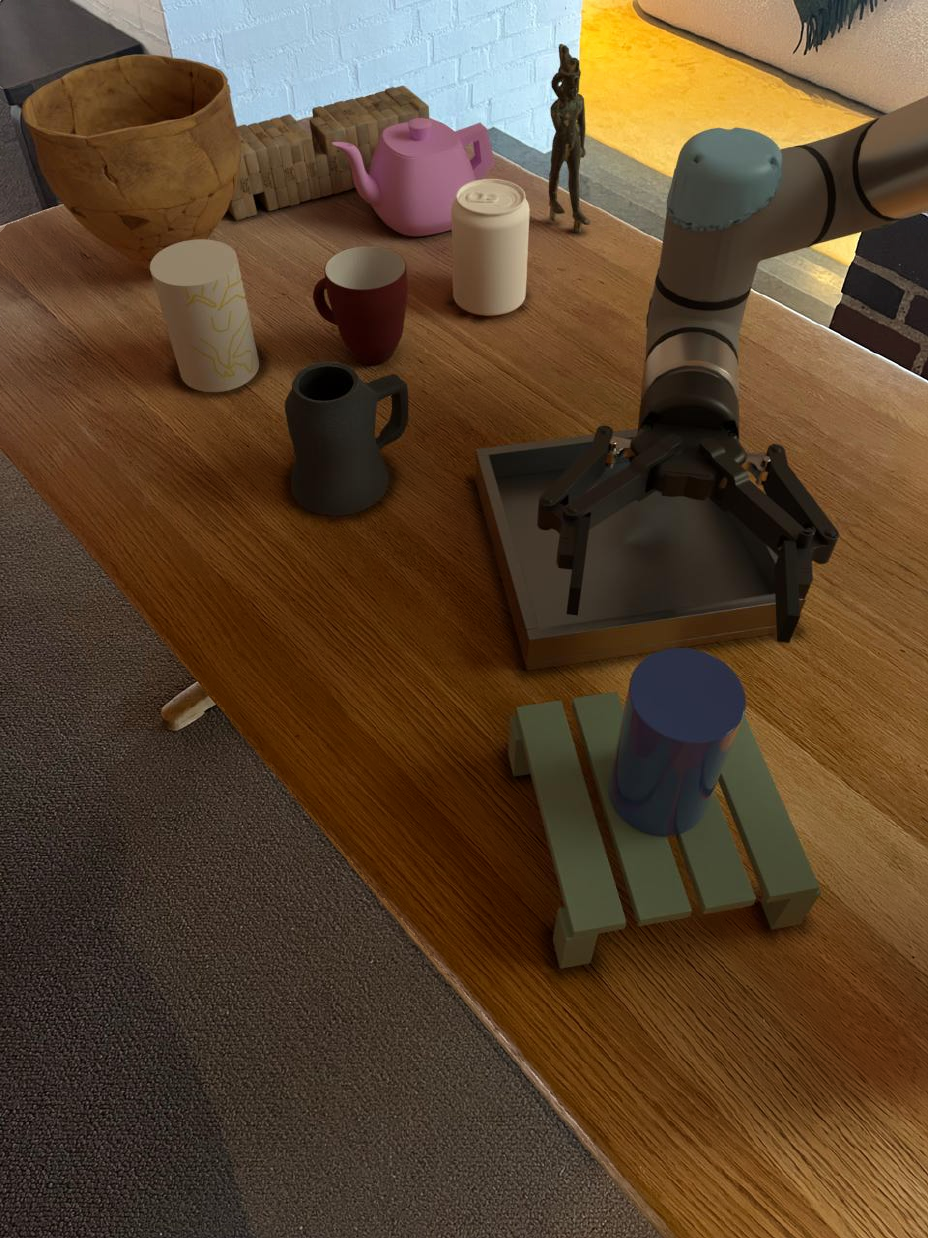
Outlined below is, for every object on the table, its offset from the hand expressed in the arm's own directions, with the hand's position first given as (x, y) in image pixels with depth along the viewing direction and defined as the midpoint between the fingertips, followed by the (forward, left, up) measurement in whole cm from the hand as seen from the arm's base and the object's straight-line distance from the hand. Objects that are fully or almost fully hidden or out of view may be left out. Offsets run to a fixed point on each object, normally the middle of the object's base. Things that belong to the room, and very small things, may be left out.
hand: (679, 615), depth 61 cm
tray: (+18, -3, -13) cm, 22 cm away
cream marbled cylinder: (+51, +31, -13) cm, 61 cm away
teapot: (+78, +6, -13) cm, 79 cm away
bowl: (+71, +36, -13) cm, 80 cm away
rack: (-8, +3, -13) cm, 16 cm away
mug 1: (+51, +16, -13) cm, 55 cm away
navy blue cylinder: (-8, +3, -7) cm, 11 cm away
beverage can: (+58, +1, -13) cm, 59 cm away
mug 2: (+32, +19, -13) cm, 39 cm away
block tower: (+88, +17, -13) cm, 91 cm away
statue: (+71, -11, -13) cm, 73 cm away
